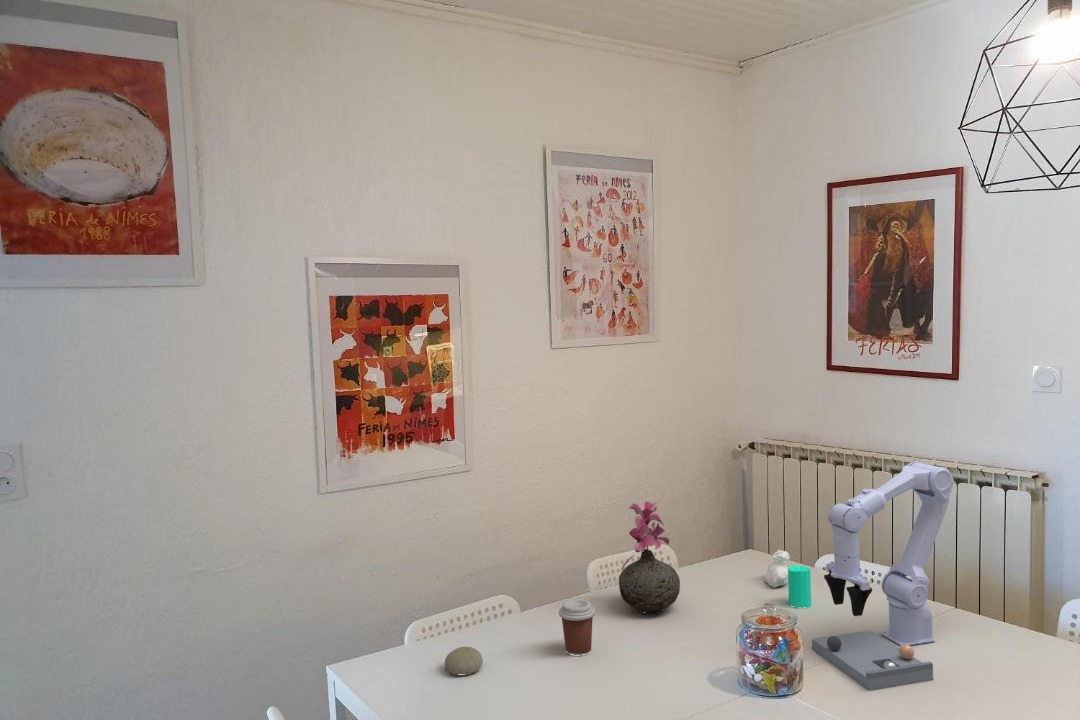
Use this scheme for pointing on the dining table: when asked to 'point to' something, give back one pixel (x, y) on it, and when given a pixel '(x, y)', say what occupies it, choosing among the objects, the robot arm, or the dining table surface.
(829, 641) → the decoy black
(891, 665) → the steel ball
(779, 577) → the bust
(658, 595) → the vase
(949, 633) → the dining table surface
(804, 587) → the candle
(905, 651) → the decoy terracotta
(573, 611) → the coffee cup
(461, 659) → the sea urchin shell
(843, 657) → the board
